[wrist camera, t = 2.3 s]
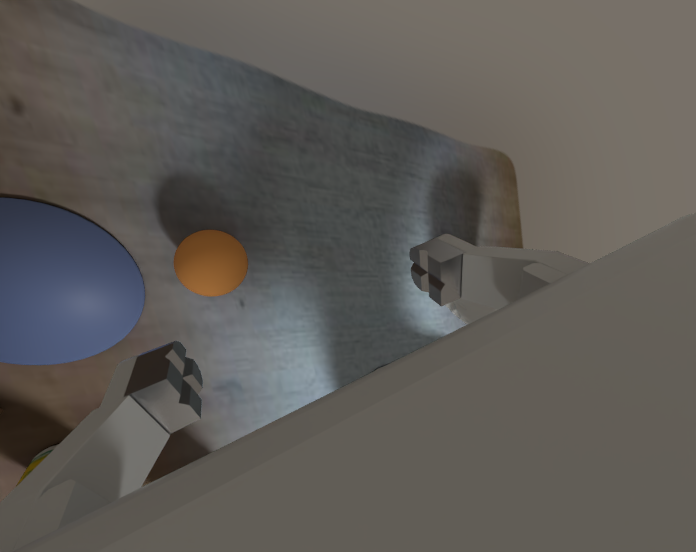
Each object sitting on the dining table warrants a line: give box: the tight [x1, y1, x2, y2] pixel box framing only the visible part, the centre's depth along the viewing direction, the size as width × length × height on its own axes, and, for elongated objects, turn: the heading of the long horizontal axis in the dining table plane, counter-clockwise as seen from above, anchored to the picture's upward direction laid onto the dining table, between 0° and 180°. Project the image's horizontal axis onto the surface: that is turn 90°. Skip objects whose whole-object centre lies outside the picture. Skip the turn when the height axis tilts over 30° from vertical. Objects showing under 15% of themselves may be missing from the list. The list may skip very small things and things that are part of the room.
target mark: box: [0, 198, 145, 365], centre depth 22 cm, size 14×14×1 cm
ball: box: [174, 230, 248, 296], centre depth 23 cm, size 6×6×6 cm
